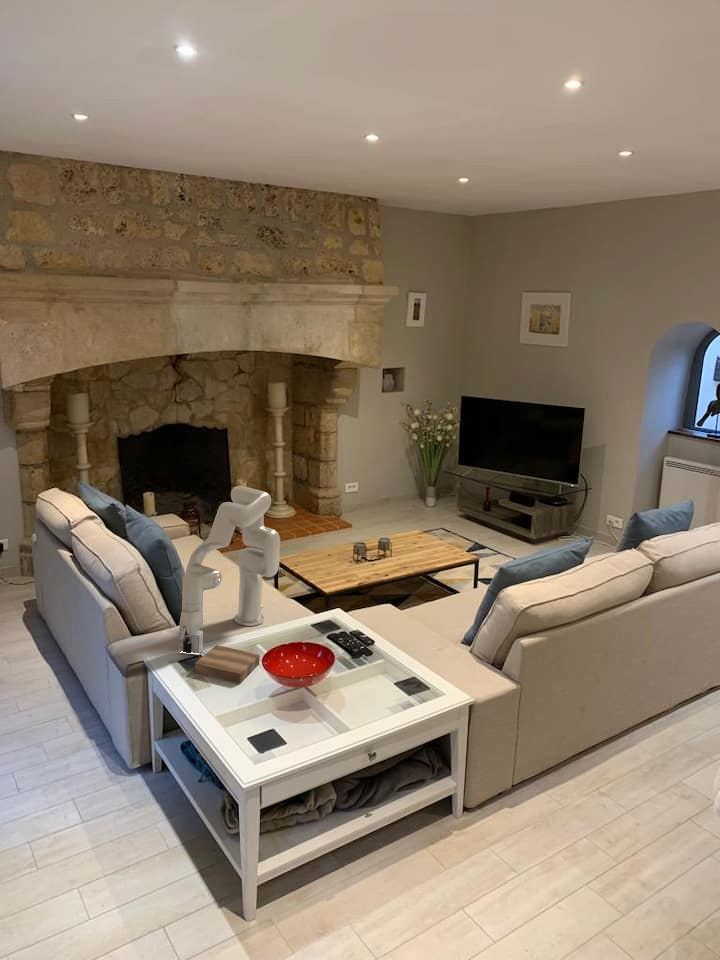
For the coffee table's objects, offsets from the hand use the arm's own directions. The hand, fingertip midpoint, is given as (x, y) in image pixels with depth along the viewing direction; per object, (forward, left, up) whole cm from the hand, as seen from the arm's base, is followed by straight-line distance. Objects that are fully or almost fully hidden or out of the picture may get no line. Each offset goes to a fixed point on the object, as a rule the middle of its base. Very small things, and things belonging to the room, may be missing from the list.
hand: (191, 648), depth 276 cm
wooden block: (+5, +18, -2) cm, 19 cm away
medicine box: (0, 0, -2) cm, 2 cm away
